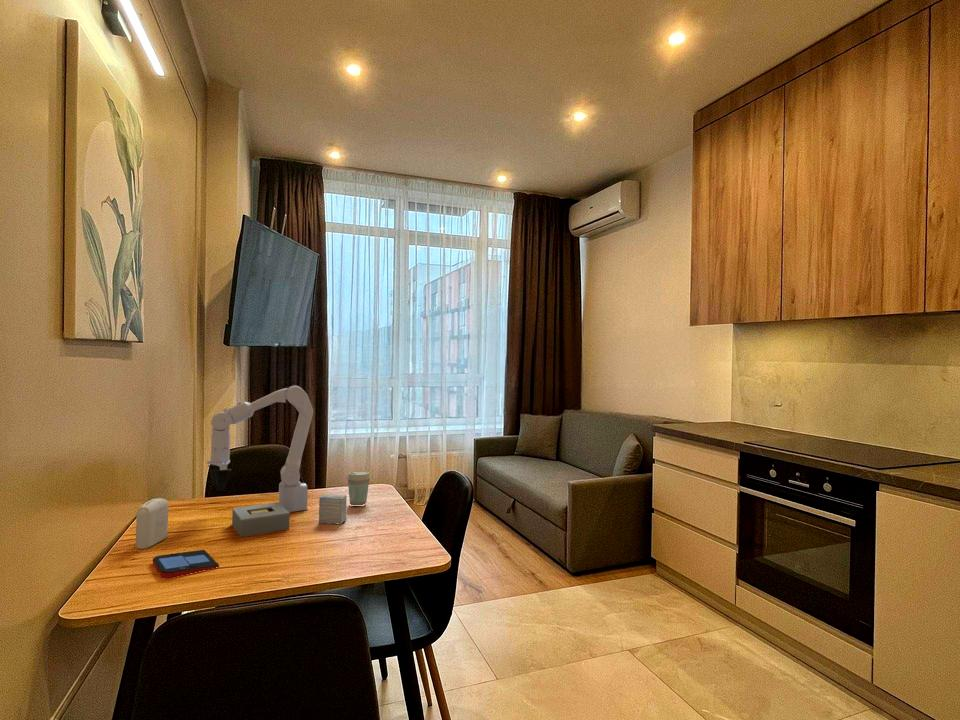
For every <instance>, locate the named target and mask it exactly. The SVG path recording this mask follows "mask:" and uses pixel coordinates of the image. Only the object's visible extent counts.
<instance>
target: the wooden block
mask: <svg viewBox="0 0 960 720" xmlns="http://www.w3.org/2000/svg"><path fill="white" fill-rule="evenodd" d="M264 512H269V511H268V510H267V509H265V510H258V511H251V512H250V514H257V513H264Z"/></svg>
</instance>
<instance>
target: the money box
mask: <svg viewBox="0 0 960 720" xmlns="http://www.w3.org/2000/svg"><path fill="white" fill-rule="evenodd" d="M265 509H267V510H268V511H269V512H264V513H257V514H250V512H251V511H258V510H265ZM231 512H232V514H231V515H232V516H231V525H232V527H233V528H234V529H235V531H236V532H237V534H238V536H239V537H240V538H244V537H251V536H255V535H261V534H263V535H264V534H268V533H275V532H274V531H276V532H280V530H282V531H286V530H285V529H288V530H290V515H291V514H290V513H291V512H288V511H287V510H286V509H285V508H284V507H283V506H281V505H280V504H279V502H271V503H270V502H269V503H265V504H256V505H249V506H241V507H235V508H232V511H231Z"/></svg>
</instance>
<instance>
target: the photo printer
mask: <svg viewBox="0 0 960 720" xmlns="http://www.w3.org/2000/svg"><path fill="white" fill-rule="evenodd" d="M135 520H136V521H135V543H134V545H135V548H136V549H140V550H141V549H142V550H143V549H147V548H150V547H153V546H154V545H156V544H159V543H160V542H161V541H163V540H166V538H167V537H168V534H169V533H168V532H169V531H168V529H169V528H168V527H169V502H168V500H167V499H165V498H159V497H158V498H153V499H149V500H148V501H146V502H145V503H143V504H142V505H141V506H140V507H139V508H138V509H137V512H136V519H135Z"/></svg>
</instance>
